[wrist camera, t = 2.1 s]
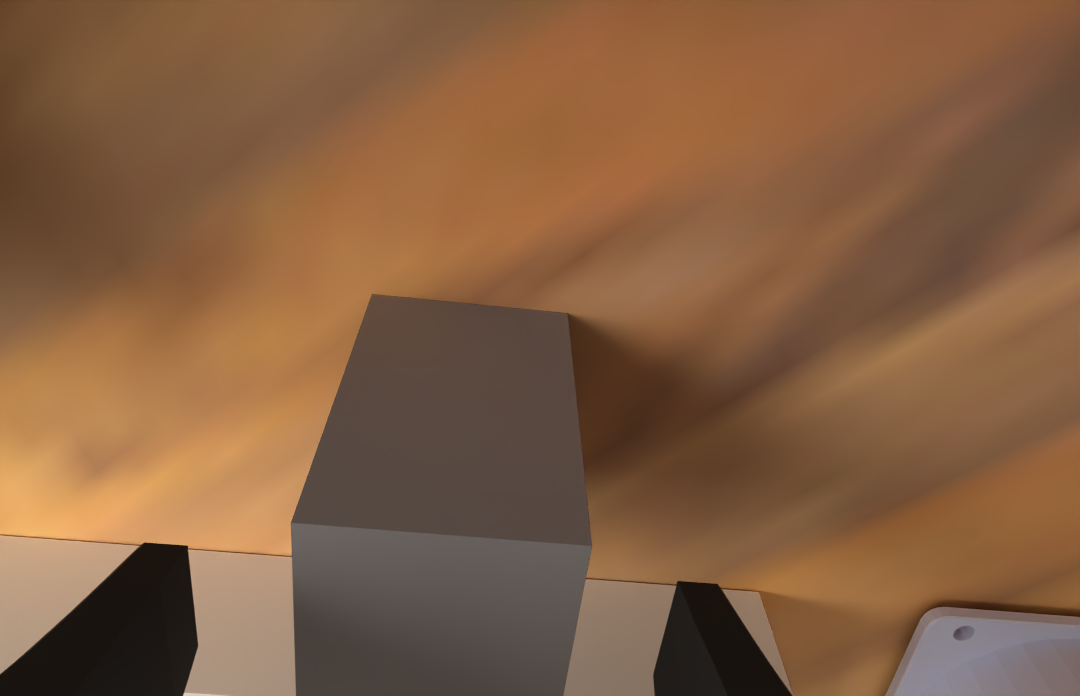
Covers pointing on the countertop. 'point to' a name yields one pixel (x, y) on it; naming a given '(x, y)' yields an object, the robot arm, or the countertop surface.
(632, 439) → the countertop surface
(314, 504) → the grey rectangular block
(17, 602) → the box
